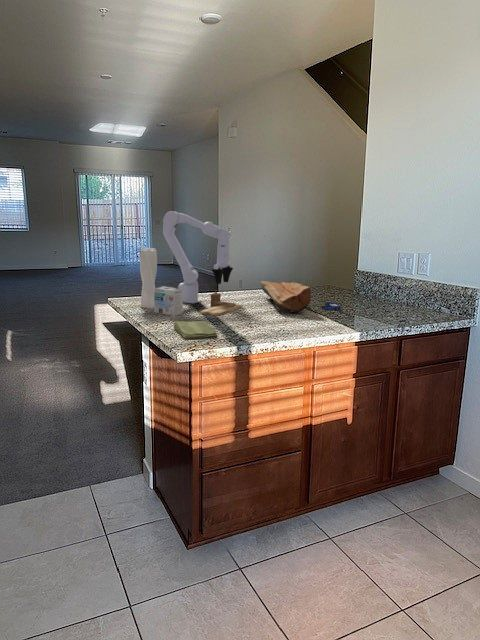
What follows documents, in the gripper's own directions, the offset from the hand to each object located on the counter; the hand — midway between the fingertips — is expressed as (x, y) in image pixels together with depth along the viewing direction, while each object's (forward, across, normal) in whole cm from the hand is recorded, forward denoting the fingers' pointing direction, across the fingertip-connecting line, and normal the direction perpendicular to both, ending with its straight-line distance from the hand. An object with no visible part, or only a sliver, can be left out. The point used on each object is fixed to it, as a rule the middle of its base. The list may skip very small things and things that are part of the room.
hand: (222, 282), depth 226 cm
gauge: (+10, -9, -6) cm, 15 cm away
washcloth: (+11, -57, -19) cm, 61 cm away
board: (+10, -15, -8) cm, 20 cm away
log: (+10, +12, -27) cm, 32 cm away
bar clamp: (+11, +13, -56) cm, 58 cm away
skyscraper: (+10, -28, +23) cm, 38 cm away
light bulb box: (+10, -34, +8) cm, 36 cm away
